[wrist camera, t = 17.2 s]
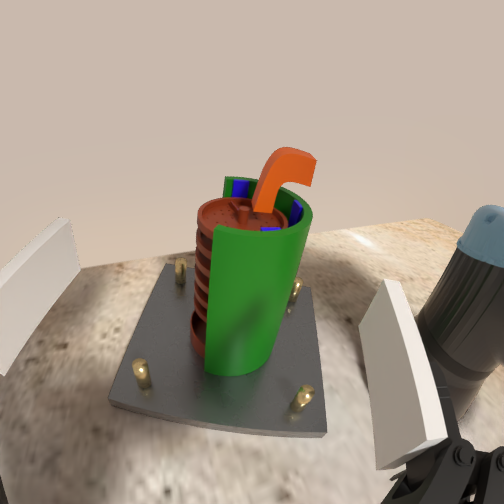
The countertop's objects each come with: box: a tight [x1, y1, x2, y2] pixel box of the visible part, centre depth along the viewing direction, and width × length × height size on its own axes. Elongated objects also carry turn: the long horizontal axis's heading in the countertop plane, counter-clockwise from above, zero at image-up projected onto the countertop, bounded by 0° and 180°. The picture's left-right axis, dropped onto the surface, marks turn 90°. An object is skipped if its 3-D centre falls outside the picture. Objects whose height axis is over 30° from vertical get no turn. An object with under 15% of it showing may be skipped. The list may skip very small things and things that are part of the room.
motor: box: [190, 147, 317, 376], centre depth 25 cm, size 10×9×20 cm
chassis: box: [108, 258, 327, 438], centre depth 30 cm, size 20×21×4 cm
